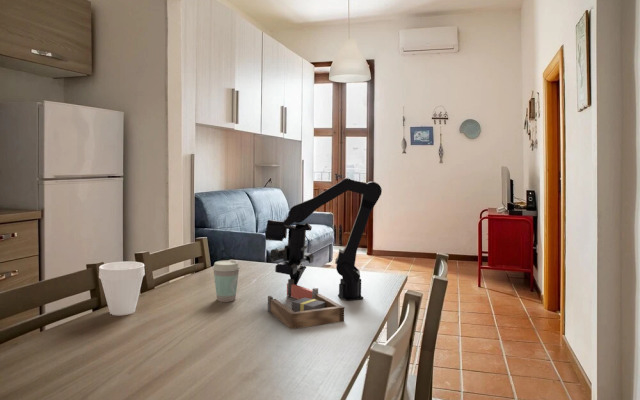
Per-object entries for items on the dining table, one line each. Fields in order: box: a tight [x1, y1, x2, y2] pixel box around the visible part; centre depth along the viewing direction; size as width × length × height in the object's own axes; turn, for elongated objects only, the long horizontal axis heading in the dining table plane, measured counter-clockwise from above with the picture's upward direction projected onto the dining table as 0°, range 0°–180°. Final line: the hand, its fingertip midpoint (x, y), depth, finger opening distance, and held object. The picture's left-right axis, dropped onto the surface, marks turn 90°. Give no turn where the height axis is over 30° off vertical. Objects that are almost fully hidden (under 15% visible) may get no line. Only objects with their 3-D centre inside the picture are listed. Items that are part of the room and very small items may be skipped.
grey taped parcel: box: [291, 298, 326, 312], centre depth 141 cm, size 6×8×4 cm
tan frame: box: [267, 293, 345, 330], centre depth 138 cm, size 16×18×4 cm
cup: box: [98, 260, 146, 316], centre depth 139 cm, size 12×12×14 cm
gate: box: [286, 278, 319, 300], centre depth 154 cm, size 15×2×6 cm, turn 40°
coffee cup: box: [212, 259, 240, 303], centre depth 154 cm, size 9×8×12 cm
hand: (293, 287), depth 161 cm, fingers closed
